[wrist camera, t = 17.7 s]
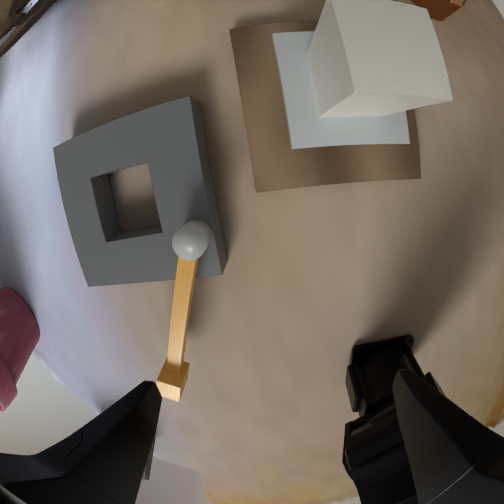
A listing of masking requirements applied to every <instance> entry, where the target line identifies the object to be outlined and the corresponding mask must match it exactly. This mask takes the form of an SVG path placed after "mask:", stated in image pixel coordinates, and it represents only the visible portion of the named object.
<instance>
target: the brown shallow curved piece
mask: <svg viewBox="0 0 504 504" xmlns="http://www.w3.org/2000/svg"><path fill="white" fill-rule="evenodd" d="M29 1H30V0H0V39H1V38H2V37H3V36H5V35H6V34H7V33H8V32H9V31H11V29H12V28H14V27H15V26H16V25H17V24H18V23H19V22H20V21H21V22H20V23H19V24H18V25H17V27H16V28H15V29H14V30H13V32H12V33H11V34H10V36H9V37H8V39H7V40H6V41H5V42H4V43H3V44H2V45H1V46H0V57H2V56H3V55H4V54H5V53H6V52H7V51H8V50H9V49H10V48H11V47H12V46H13V45H14V44H15V43H16V42H17V41H18V40H19V39H20V38H21V37H22V36H23V35H24V34H25V33H26V32H27V31H28V30H29V29H30V28H31V27H32V26H33V25H34V24H35V23H36V22H37V21H38V20H39V19H40V17H41V16H42V15H43V14H44V13H45V12H46V11H47V10H48V9H49V8H50V7H51V5H52V4H53V3H54V2H55V1H56V0H38V1H37V3H36V4H35V5H34V6H33V7H32V8H31V10H30V11H29V12H28V13H27V14H26V13H18V12H19V11H20V10H21V9H22V8H23V7H25V6H26V4H27V3H28V2H29ZM31 5H32V3H31Z"/></svg>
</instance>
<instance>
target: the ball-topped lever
mask: <svg viewBox="0 0 504 504" xmlns="http://www.w3.org/2000/svg"><path fill="white" fill-rule="evenodd" d="M211 240H212V230H211V228H210V226H209V225H208V224H207V223H206V222H205V221H203V220H200V219H192V220H190V221H188V222H187V223H186V224H185V225H183V226H182V227H181V228H180V229H179V230H178V231H177V232H176V233H175V234H174V236H173V239H172V246H173V249H174V251H175V253H176V254H177V255H178V256H179V257H178V264H177V271H176V278H175V286H174V294H173V303H172V312H171V322H170V333H169V344H168V357H167V359H166V361H165V363H164V365H163V367H162V370H161V372H160V374H159V376H158V378H157V380H156V385H157V387H158V389H159V391H160V393H161V396H162V397H165V398H168V399H172V400H175V401H178V402H179V401H180V398H181V395H182V392H183V389H184V386H185V383H186V381H187V378H188V371H189V364H190V363H187V362H184V361H183V359H184V352H185V344H186V337H187V330H188V323H189V316H190V310H191V303H192V297H193V291H194V285H195V279H196V273H197V267H198V262H199V257H201V255H202V254H203V253H204V251H205V250H206V248H207V246H208V245H209V243H210V242H211Z"/></svg>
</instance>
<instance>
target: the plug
mask: <svg viewBox="0 0 504 504" xmlns="http://www.w3.org/2000/svg"><path fill="white" fill-rule="evenodd" d="M272 40H273V45H274V50H275V55H276V60H277V65H278V71H279V76H280V82H281V87H282V93H283V99H284V105H285V111H286V117H287V124H288V130H289V137H290V144H291V149H300V148H311V147H324V146H339V145H360V144H410V140H409V131H408V123H407V116H406V110H410V109H415V108H419V107H424V106H429V105H434V104H439V103H444V102H449V101H453V99H452V94H451V89H450V84H449V79H448V75H447V70H446V66H445V63H444V59H443V55H442V52H441V48H440V45H439V42H438V39H437V35H436V32H435V30H434V27H433V24H432V21H431V19H430V16H429V13H428V11H427V9H425V8H422V7H418V6H414V5H410V4H405V3H401V2H396V1H391V0H326V2H325V5H324V7H323V10H322V13H321V15H320V18H319V21H318V24H317V26H316V29H315V31H303V32H285V33H274V34H272Z"/></svg>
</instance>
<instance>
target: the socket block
mask: <svg viewBox="0 0 504 504" xmlns="http://www.w3.org/2000/svg"><path fill="white" fill-rule="evenodd" d="M53 150H54V157H55V164H56V170H57V175H58V181H59V186H60V191H61V196H62V200H63V205H64V209H65V213H66V217H67V221H68V225H69V229H70V232H71V236H72V239H73V243H74V246H75V249H76V252H77V255H78V258H79V262H80V265H81V267H82V270H83V273H84V276H85V279H86V281H87V284H88V287H89V286H103V285H116V284H128V283H140V282H152V281H163V280H174V279H175V278H176V271H177V264H178V257H179V256H178V255H177V254H176V253H175V251H174V249H173V246H172V239H173V236H174V234H175V233H176V232H177V231H178V230H179V229H180V228H181V227H182V226H183V225H185V224H186V223H187V222H188V221H190V220H192V219H200V220H203V221H205V222H206V223H207V224H208V225H209V226H210V228H211V230H212V240H211V242H210V243H209V245H208V246H207V248H206V250H205V251H204V253H203V254H202V255H201V257H199V262H198V267H197V273H196V277H206V276H216V275H222V274H223V271H224V269H225V266H226V264H227V261H228V260H227V255H226V250H225V245H224V240H223V234H222V229H221V224H220V218H219V213H218V208H217V202H216V197H215V191H214V185H213V180H212V174H211V168H210V162H209V156H208V150H207V144H206V138H205V132H204V126H203V120H202V113H201V107H200V102H198V101H197V100H195V99H194V98H192V97H190V96H188V97H184V98H181V99H177V100H173V101H170V102H166V103H163V104H159V105H156V106H153V107H150V108H147V109H144V110H141V111H138V112H135V113H132V114H129V115H127V116H124V117H121V118H119V119H116V120H113V121H111V122H108V123H106V124H103V125H101V126H99V127H96V128H94V129H92V130H89V131H87V132H85V133H83V134H80V135H78V136H76V137H74V138H72V139H70V140H68V141H66V142H64V143H62V144H60V145H58V146H56V147H54V148H53ZM147 162H148V165H149V171H150V176H151V181H152V186H153V191H154V196H155V201H156V205H157V210H158V214H159V219H160V223H161V226H155V227H149V228H144V229H138V230H133V231H127V232H122V233H121V229H120V225H119V221H118V217H117V213H116V209H115V204H114V200H113V195H112V191H111V186H110V181H109V176H108V174H110V173H113V172H116V171H119V170H123V169H126V168H129V167H133V166H136V165H140V164H144V163H147Z"/></svg>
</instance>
